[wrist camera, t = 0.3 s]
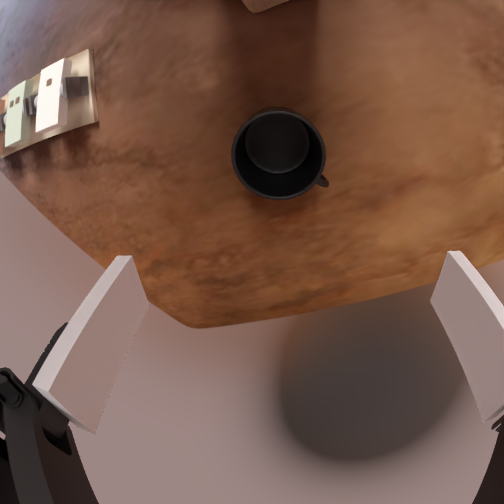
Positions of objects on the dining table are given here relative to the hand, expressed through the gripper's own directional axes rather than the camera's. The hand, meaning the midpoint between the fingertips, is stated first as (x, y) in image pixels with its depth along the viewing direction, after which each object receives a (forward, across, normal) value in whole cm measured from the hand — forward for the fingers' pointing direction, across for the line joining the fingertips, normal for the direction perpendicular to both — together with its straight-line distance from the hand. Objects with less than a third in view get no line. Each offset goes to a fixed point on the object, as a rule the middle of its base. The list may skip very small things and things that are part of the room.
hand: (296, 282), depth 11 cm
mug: (+28, +1, 0) cm, 28 cm away
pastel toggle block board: (+28, -39, +13) cm, 50 cm away
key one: (+24, -30, +13) cm, 41 cm away
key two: (+24, -39, +13) cm, 48 cm away
